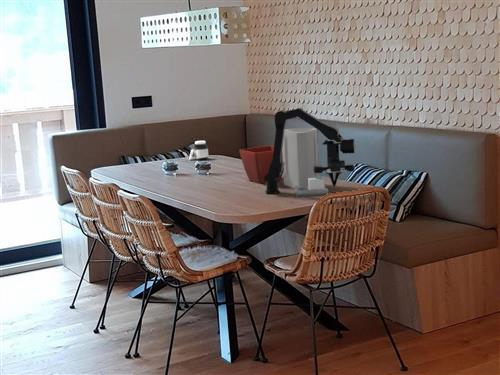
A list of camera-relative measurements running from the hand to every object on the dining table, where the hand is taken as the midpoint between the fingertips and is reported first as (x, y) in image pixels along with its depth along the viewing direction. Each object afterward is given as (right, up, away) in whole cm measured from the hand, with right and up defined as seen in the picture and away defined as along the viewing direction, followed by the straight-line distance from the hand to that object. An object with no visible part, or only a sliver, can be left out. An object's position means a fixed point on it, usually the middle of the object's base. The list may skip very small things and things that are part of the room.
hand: (334, 186), depth 366 cm
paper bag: (-13, 0, +21) cm, 24 cm away
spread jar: (-73, +17, +129) cm, 149 cm away
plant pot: (-32, +3, +41) cm, 52 cm away
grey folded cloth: (-11, -3, 0) cm, 11 cm away
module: (-8, -2, 0) cm, 9 cm away
